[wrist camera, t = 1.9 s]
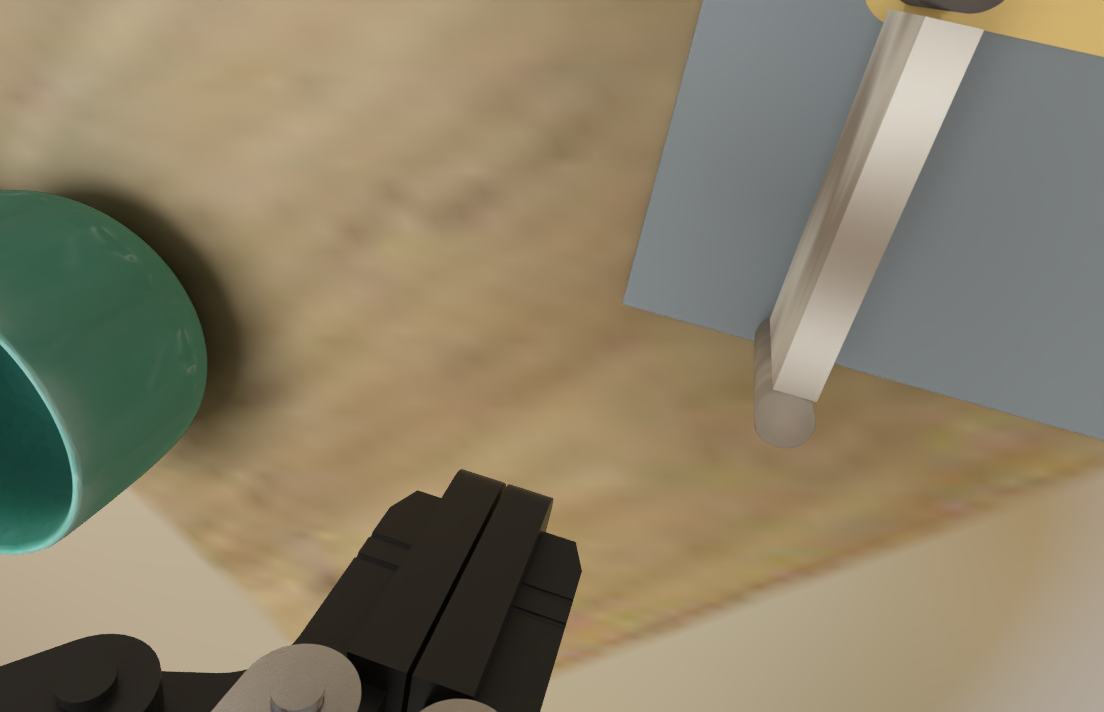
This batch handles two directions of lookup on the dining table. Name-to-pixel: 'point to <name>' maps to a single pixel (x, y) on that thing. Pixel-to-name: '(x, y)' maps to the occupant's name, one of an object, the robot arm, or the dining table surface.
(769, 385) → the hinged panel
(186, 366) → the mug
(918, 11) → the card
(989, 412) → the dining table surface
